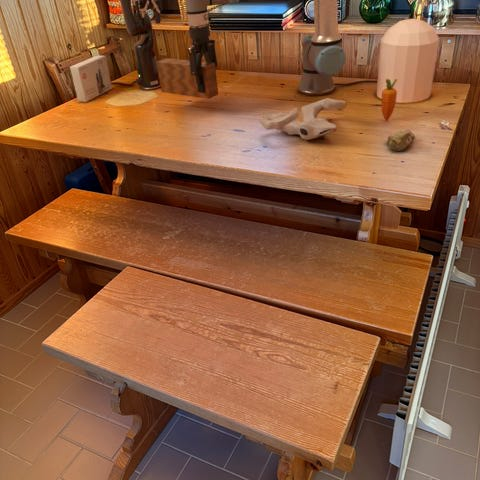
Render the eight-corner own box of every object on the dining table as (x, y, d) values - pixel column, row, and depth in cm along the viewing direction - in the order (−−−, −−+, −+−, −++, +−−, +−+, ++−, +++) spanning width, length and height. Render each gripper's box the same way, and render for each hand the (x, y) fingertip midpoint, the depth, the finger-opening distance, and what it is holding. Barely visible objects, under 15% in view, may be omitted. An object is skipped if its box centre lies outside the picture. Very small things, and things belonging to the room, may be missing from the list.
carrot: (394, 118, 167) (398, 76, 158) (393, 123, 163) (397, 80, 154) (379, 117, 168) (383, 75, 160) (378, 122, 165) (382, 80, 156)
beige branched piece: (257, 147, 155) (255, 112, 149) (269, 121, 176) (267, 89, 170) (343, 147, 149) (345, 111, 143) (345, 120, 170) (346, 87, 164)
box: (161, 92, 191) (156, 61, 184) (171, 87, 195) (166, 58, 188) (209, 99, 178) (205, 66, 171) (218, 94, 182) (214, 62, 175)
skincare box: (87, 102, 214) (77, 67, 204) (78, 102, 215) (68, 66, 206) (113, 88, 229) (105, 54, 220) (104, 88, 231) (96, 54, 222)
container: (400, 106, 176) (410, 27, 160) (365, 93, 192) (370, 19, 176) (442, 95, 182) (455, 17, 167) (404, 83, 199) (413, 11, 183)
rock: (408, 140, 153) (379, 139, 152) (414, 122, 149) (384, 120, 148) (421, 154, 144) (391, 153, 143) (428, 135, 140) (396, 133, 139)
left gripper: (149, -22, 189) (156, 21, 198) (123, -17, 180) (132, 28, 189) (162, -22, 185) (169, 22, 194) (136, -17, 176) (145, 29, 185)
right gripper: (189, 31, 159) (198, 98, 172) (222, 20, 171) (229, 83, 184) (173, 30, 163) (183, 96, 176) (207, 20, 175) (214, 81, 188)
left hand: (151, 25), depth 191 cm, fingers open, 8 cm apart
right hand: (206, 89), depth 180 cm, fingers closed on box, 6 cm apart
